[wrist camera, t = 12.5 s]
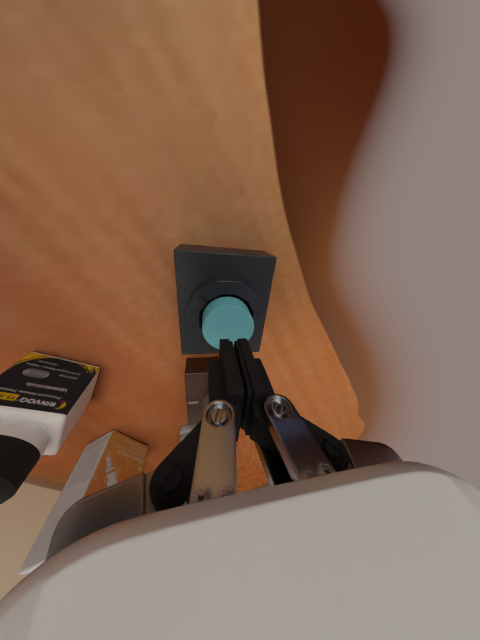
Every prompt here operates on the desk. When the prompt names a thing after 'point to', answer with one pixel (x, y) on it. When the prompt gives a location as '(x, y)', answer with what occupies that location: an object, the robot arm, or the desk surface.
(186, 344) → the button housing
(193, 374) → the rotary knob switch
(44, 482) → the desk surface
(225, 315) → the teal button cap
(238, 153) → the desk surface
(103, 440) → the small box
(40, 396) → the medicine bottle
